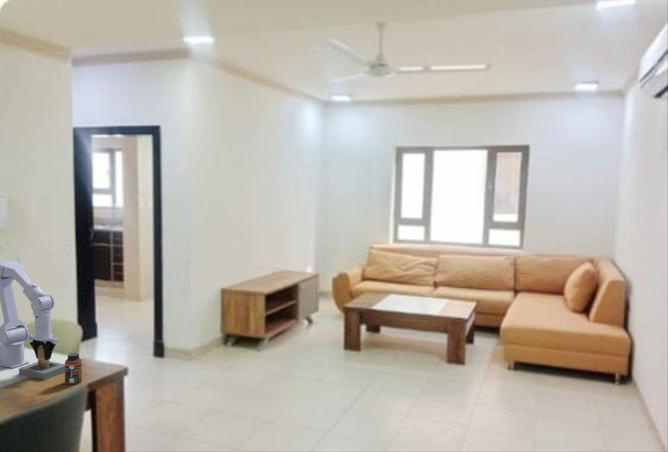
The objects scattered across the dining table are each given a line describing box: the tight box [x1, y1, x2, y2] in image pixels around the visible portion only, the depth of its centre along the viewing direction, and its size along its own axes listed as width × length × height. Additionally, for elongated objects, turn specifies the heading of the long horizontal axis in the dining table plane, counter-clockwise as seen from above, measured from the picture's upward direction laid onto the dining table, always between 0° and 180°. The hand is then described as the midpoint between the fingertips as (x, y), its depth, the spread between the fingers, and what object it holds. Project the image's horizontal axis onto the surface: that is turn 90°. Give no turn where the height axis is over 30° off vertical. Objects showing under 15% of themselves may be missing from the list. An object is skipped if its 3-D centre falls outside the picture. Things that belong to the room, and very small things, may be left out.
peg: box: [37, 346, 50, 368], centre depth 215 cm, size 4×4×8 cm
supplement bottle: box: [64, 352, 83, 386], centre depth 206 cm, size 6×6×11 cm
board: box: [18, 360, 65, 381], centre depth 216 cm, size 14×11×3 cm
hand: (43, 358), depth 215 cm, fingers closed on peg, 4 cm apart
